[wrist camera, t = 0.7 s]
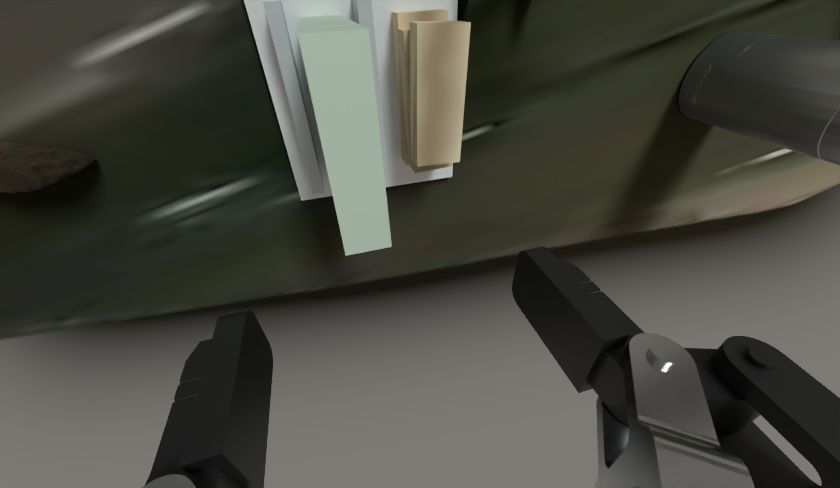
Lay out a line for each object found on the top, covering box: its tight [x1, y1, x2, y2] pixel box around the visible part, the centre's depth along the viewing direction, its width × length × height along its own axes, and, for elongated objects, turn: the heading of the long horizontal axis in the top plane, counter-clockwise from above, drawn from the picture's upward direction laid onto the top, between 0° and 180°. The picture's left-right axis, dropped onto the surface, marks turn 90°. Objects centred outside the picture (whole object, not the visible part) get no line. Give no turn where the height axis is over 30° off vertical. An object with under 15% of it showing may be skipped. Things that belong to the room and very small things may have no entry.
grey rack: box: [244, 0, 458, 201], centre depth 28 cm, size 16×18×4 cm
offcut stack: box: [392, 10, 471, 173], centre depth 28 cm, size 4×12×6 cm, turn 2°
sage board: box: [297, 15, 392, 256], centre depth 23 cm, size 3×12×14 cm, turn 2°
